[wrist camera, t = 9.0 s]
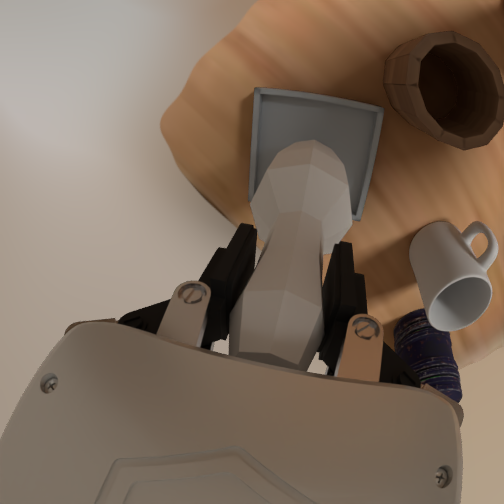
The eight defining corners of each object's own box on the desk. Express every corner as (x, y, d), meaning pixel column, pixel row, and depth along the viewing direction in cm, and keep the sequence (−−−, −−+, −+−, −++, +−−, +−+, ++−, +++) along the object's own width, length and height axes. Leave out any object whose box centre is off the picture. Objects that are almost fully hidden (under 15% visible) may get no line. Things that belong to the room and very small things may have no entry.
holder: (387, 31, 19) (411, 14, 12) (468, 62, 17) (510, 62, 10) (378, 114, 25) (398, 128, 18) (456, 139, 23) (493, 163, 16)
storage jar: (381, 329, 42) (385, 409, 30) (429, 298, 36) (449, 381, 24) (410, 352, 43) (417, 423, 32) (453, 326, 38) (470, 399, 26)
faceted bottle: (349, 138, 23) (409, 326, 6) (336, 198, 27) (332, 422, 9) (282, 125, 24) (153, 271, 7) (274, 186, 28) (181, 388, 10)
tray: (259, 87, 26) (254, 87, 24) (379, 106, 24) (384, 108, 22) (253, 192, 34) (248, 201, 32) (358, 211, 32) (359, 221, 30)
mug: (435, 282, 34) (453, 340, 26) (396, 256, 34) (411, 316, 25) (487, 222, 27) (524, 273, 18) (450, 187, 27) (490, 233, 18)
